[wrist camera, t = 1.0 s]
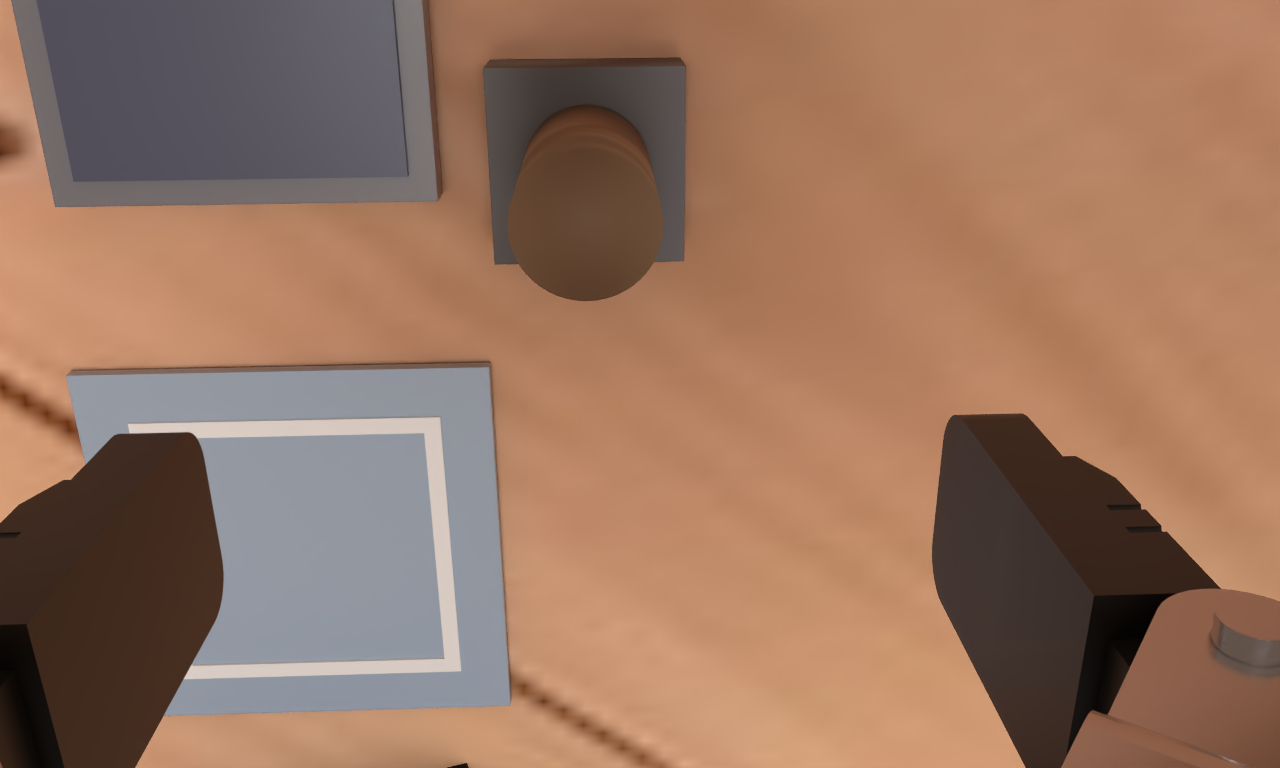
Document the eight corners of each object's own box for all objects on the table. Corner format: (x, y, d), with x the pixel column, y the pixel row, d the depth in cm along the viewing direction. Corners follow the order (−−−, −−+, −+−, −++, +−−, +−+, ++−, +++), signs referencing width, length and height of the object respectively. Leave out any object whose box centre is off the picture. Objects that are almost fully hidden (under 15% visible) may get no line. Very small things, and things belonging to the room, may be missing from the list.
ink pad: (418, -129, 27) (410, -132, 26) (442, 192, 30) (436, 202, 29) (4, -127, 27) (-21, -129, 26) (72, 198, 30) (51, 208, 29)
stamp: (680, 57, 29) (708, 100, 22) (679, 241, 31) (705, 338, 24) (490, 59, 29) (454, 103, 22) (500, 244, 31) (471, 343, 23)
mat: (489, 362, 32) (488, 368, 32) (511, 697, 37) (509, 707, 36) (71, 370, 32) (64, 376, 31) (146, 708, 36) (140, 718, 36)
